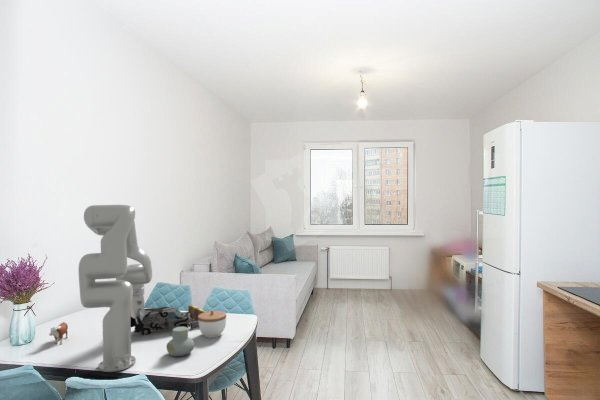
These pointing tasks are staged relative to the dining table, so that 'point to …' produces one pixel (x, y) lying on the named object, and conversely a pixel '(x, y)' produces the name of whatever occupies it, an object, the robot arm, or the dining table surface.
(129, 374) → the dining table surface
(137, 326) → the robot arm
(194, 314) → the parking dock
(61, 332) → the bull figurine
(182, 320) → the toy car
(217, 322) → the lidded bowl
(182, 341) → the air freshener
